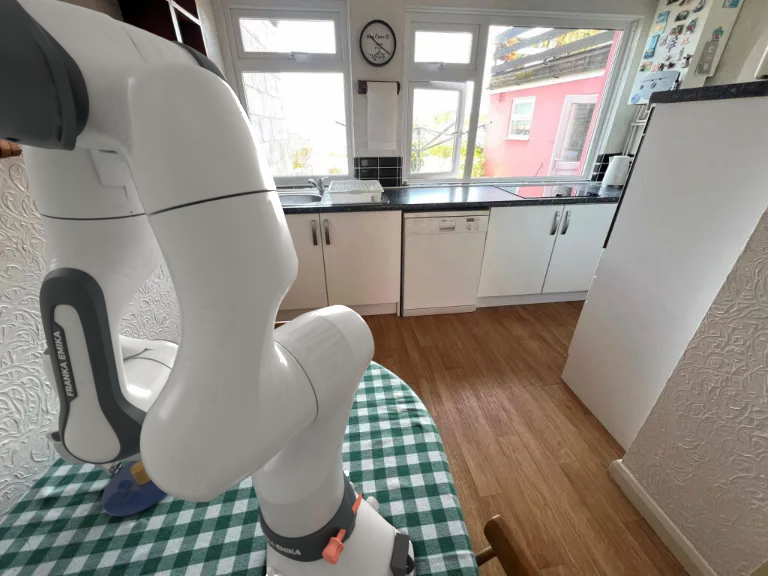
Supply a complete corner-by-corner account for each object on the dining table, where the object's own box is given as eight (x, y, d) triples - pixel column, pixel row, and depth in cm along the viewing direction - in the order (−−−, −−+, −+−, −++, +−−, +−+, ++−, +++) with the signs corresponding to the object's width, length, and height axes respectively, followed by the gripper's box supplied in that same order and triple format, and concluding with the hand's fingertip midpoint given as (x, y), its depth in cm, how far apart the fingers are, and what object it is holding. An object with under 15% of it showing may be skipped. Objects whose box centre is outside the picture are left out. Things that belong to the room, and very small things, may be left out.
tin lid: (200, 467, 61) (193, 451, 59) (129, 533, 51) (119, 517, 49) (160, 443, 66) (153, 427, 64) (89, 499, 56) (77, 483, 54)
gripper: (188, 398, 55) (208, 451, 61) (67, 404, 54) (99, 457, 60) (168, 428, 49) (192, 483, 55) (32, 435, 48) (71, 490, 54)
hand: (143, 469), depth 58 cm, fingers open, 8 cm apart
